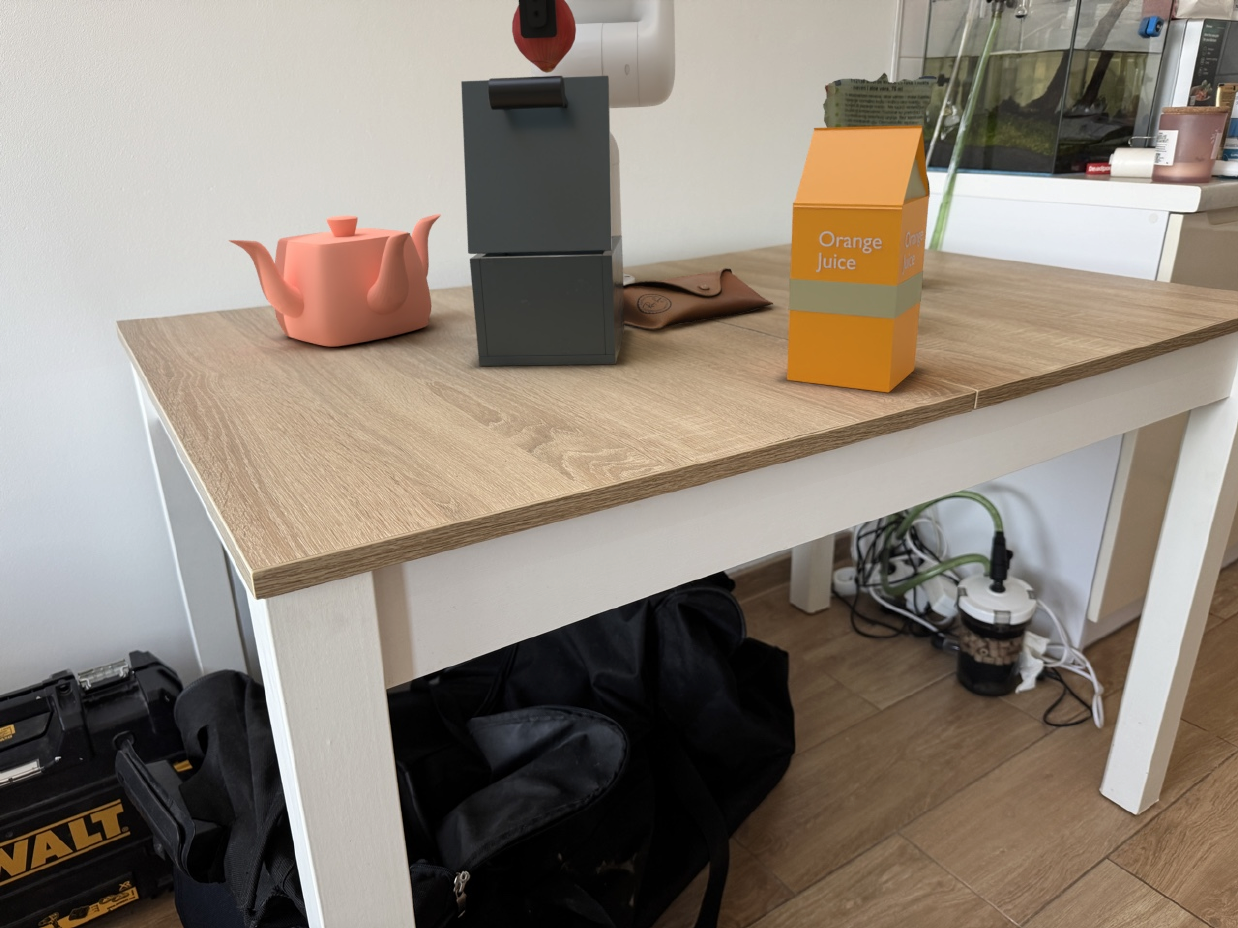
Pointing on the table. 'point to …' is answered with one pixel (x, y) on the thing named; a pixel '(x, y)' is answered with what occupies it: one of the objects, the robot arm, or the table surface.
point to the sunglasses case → (688, 299)
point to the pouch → (878, 102)
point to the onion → (547, 40)
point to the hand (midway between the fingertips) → (544, 38)
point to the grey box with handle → (537, 164)
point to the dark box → (549, 307)
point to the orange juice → (858, 257)
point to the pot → (347, 282)
